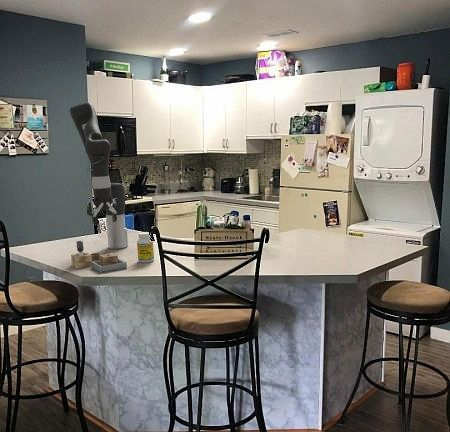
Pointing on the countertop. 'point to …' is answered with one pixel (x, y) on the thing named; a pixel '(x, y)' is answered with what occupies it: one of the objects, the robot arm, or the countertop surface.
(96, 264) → the tray
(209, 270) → the countertop surface
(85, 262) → the block
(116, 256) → the block
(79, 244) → the pin gauge
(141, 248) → the supplement bottle
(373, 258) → the countertop surface
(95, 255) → the pin stand
